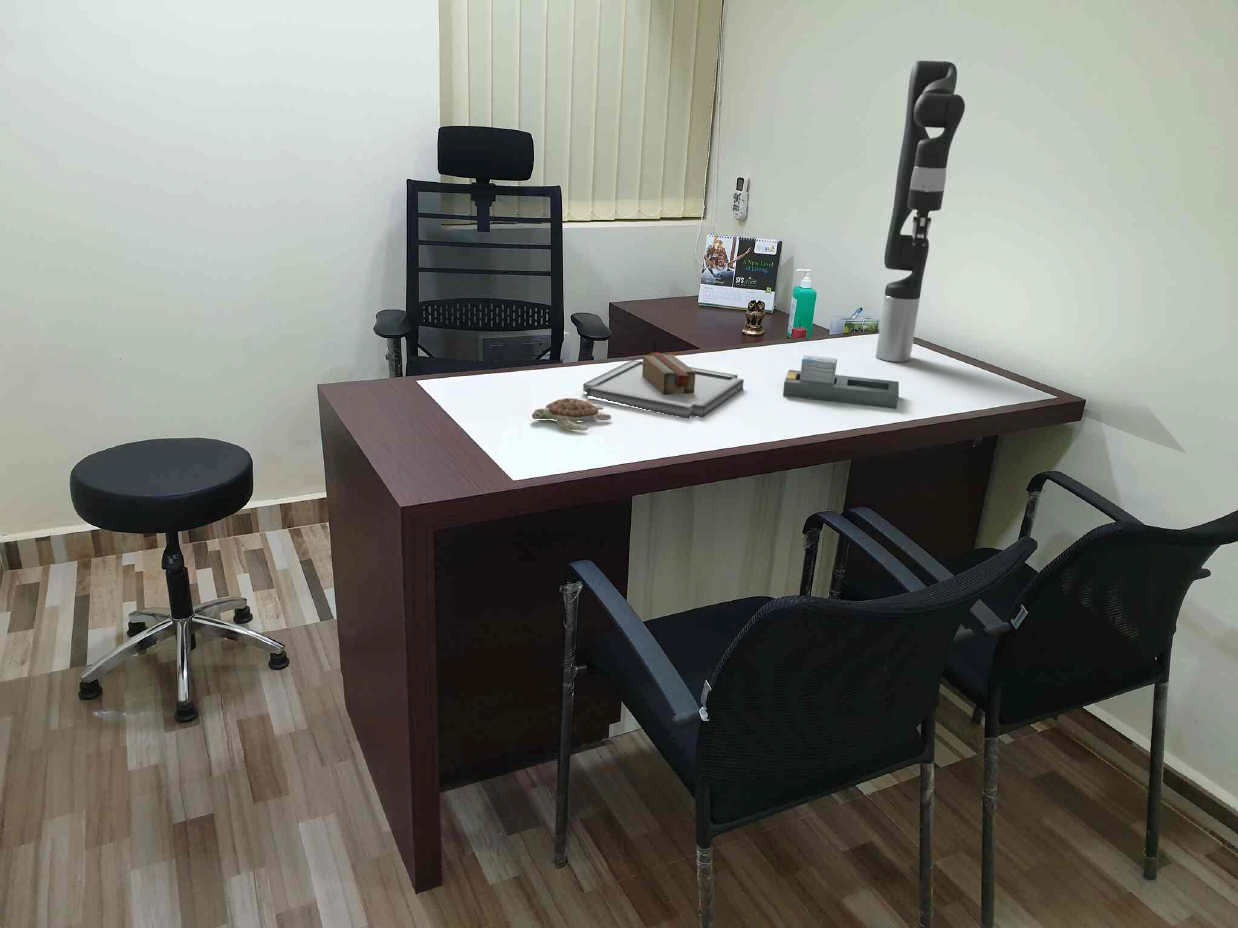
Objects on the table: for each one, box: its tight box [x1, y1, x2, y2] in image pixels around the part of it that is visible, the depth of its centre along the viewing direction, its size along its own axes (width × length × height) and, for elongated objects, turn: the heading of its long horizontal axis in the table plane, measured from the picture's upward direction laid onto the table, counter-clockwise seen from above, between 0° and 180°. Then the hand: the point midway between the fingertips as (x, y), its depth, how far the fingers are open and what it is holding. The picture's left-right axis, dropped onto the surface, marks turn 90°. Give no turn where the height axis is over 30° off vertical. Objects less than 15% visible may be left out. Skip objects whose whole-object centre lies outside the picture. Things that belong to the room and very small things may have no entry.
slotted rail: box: [782, 369, 900, 410], centre depth 217 cm, size 11×26×4 cm, turn 74°
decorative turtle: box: [531, 397, 612, 431], centre depth 194 cm, size 18×17×5 cm
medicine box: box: [800, 354, 838, 384], centre depth 217 cm, size 8×4×9 cm, turn 73°
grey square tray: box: [582, 352, 745, 420], centre depth 214 cm, size 30×30×8 cm
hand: (915, 259), depth 215 cm, fingers open, 8 cm apart
